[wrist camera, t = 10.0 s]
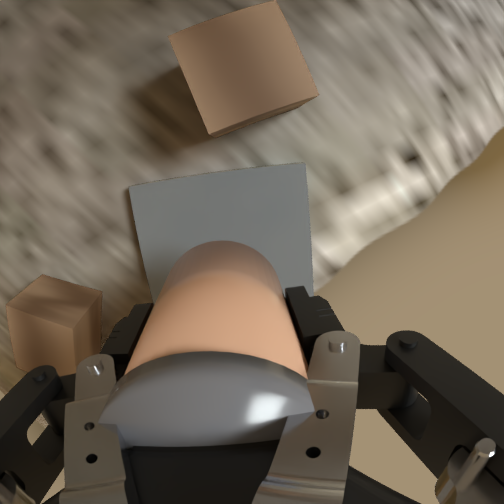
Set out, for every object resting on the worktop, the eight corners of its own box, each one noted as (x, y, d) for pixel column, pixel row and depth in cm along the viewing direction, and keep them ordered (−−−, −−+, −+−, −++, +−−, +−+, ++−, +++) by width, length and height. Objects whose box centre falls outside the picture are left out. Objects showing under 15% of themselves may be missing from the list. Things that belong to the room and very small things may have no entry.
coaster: (302, 162, 18) (305, 163, 17) (311, 315, 21) (314, 321, 20) (132, 185, 18) (128, 186, 17) (165, 332, 21) (163, 338, 20)
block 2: (265, 34, 15) (275, -1, 11) (297, 108, 17) (319, 94, 12) (184, 63, 16) (167, 36, 11) (215, 138, 17) (208, 134, 13)
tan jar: (279, 229, 13) (351, 364, 5) (287, 339, 15) (332, 502, 7) (150, 245, 13) (51, 384, 5) (176, 351, 15) (143, 513, 7)
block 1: (102, 290, 20) (72, 328, 15) (101, 348, 21) (78, 391, 17) (43, 273, 19) (5, 304, 15) (46, 331, 21) (16, 367, 16)
